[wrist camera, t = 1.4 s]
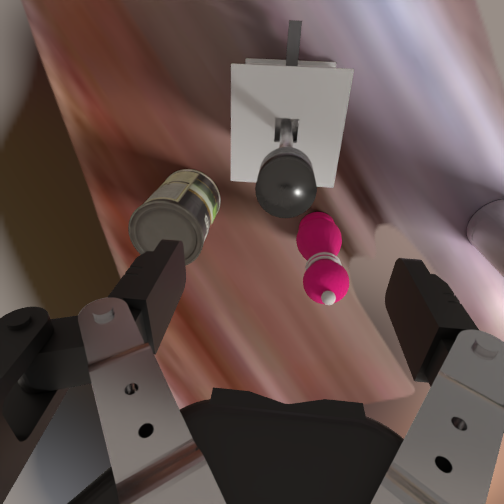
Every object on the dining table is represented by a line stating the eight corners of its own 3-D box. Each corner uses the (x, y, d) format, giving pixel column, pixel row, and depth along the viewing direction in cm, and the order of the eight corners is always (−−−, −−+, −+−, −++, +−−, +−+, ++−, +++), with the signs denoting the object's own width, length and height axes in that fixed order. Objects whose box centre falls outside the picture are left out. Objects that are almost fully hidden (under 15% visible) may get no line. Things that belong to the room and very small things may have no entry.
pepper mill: (293, 211, 56) (296, 281, 39) (336, 205, 55) (359, 275, 38) (298, 247, 60) (302, 326, 43) (338, 243, 58) (360, 322, 41)
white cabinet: (339, 30, 42) (365, 20, 29) (322, 152, 50) (334, 189, 37) (247, 27, 43) (228, 15, 29) (244, 147, 51) (229, 182, 37)
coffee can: (229, 183, 54) (213, 221, 42) (209, 232, 60) (189, 278, 48) (171, 157, 53) (137, 188, 41) (155, 210, 58) (121, 251, 46)
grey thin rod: (331, 81, 35) (379, 114, 17) (319, 162, 40) (347, 258, 21) (249, 77, 36) (209, 105, 17) (247, 158, 40) (214, 248, 22)
